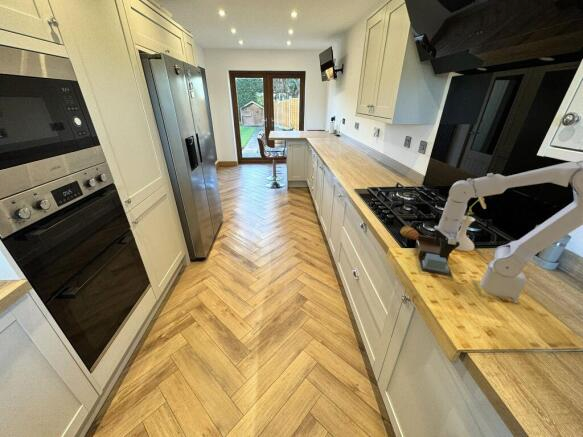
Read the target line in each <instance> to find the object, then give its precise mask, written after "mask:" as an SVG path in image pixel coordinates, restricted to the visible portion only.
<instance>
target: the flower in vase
mask: <svg viewBox="0 0 583 437" xmlns="http://www.w3.org/2000/svg"><path fill="white" fill-rule="evenodd" d="M477 202H478V203H480V205H481V208H483V210H485V209H487V204H486V202H485V198H484V197H478V199H477V200H476V201H475V202H473V204H472V205H471V206H469V209H468V212H467V215H464V216H463V219H462V222H461V225H460V228H459V232H458V235H457V242H459V243H460V245H459V246H458V247H457V248H455V249H454V250H456V251H459V252H471V251H474V250H475V243H474V242H473V241H472V240H471V239H470V238H469V237H468V236H467V231H468V229H469V227H470V226H471V224H472V223H473V222H475V221H476V218H474V217H472V216H471V215H474V214H475V213H474V212H473V211H472V208H473V207H474V205H475V204H477ZM469 215H470V216H469Z"/></svg>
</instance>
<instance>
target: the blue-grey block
mask: <svg viewBox="0 0 583 437" xmlns="http://www.w3.org/2000/svg"><path fill="white" fill-rule="evenodd" d="M424 259H425V260H423V261H422V263H423V267H424V269H430V270H435V271H440V272H445V273H449V269H450V267H449V268H448V266H449V265H448V266H447V264H448V261H447V260H446V258H441V257H439V255H435V254H429V253H425V257H424Z"/></svg>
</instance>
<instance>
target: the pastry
mask: <svg viewBox="0 0 583 437" xmlns="http://www.w3.org/2000/svg"><path fill="white" fill-rule="evenodd" d="M399 233H400V235H401V236H402V237H404V238H405V239H410V240H413V241H417V238H418V235H421V234H420V233H419V232H418V230H416V229H415V228H413V227H411V226H409V225H405V226H403V227H402V228H401V229H400V231H399Z"/></svg>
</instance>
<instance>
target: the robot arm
mask: <svg viewBox="0 0 583 437" xmlns="http://www.w3.org/2000/svg"><path fill="white" fill-rule="evenodd" d="M545 183H551V184H555V185H558V186H562V187H565V188H567V187H568V186H569V184H570V185H571V187H572V193H573V195H572V196H573V201H572V202H571V203H569V204H568V205H566V206H565V207H564V208H562V209H561V210H559V211H558V212H556V213H555V214H554V215H551V217H549V218H548V219H546V220H545V221H544V222H542V223H540V224H539V225H538V226H537V227H535V228H534V229H532V230H530V231H529V232H528V233H526V234H525V235H523V236H522V237H520V238H519V239H517V240H512V241H510V242H509V243H506V244H503V245H500V246H497V247H496V248H495V250H494V252H493V256H494V257H493V258H494V259H493V260H492V261H489V262H488V264H487V267H486V269H485V271H484V272H483V275H482V278H481V279H480V282H479V287H480V288H481V289H482V290H483V291H484V292H486V293H488V294H489V295H492V296H495V297H500V298H510V299H512V300H513V302H514V303H515V304H518V303H519V301H518V299H519V298H520V296H521V294H522V293H523V291H524V289H525V286H526V285H527V278H526V275H525V274H524V273H523V272H522V271H523V269H524V267H526V266H527V265H529V264H530V262H531V261H532V259H533V257H534V256H536V255H537V254H538V253H541V252H542V251H543V250H545V249H546V248H548V247H550V246H551V245H553V244H554V243H556V242H558V241H559V240H561V239H562V238H564V237H565V236H568V235H569V234H570V233H572V232H573V231H575V230H576V229H578V228H580V227H582V226H583V159H582V160H579V161H576V162H575V161H569V162H563V163H558V164H554V165H550V166H549V165H548V166H546V167H542V168H537V169H532V170H527V171H524V172H519V173H516V174H512V175H507V176H506V175H502V174H500V173H496V174H495V173H494V172H491V173H486V175H485V176H482V177H476V178H471V177H470V178H467V179H466V180H465V179H464V180H463V179H461V180H458V181H456V182H453V184H452V186H451V187H450V189H449V191H448V196H447V201H446V202H445V205H444V208H443V211H442V214H441V217H440V218H439V222H438V225H434V226H433V229H434V237H435V246H440V252H439V257H441V258H447V257H448V256H449V257H450V255H451V253H453V251H454V250H455V248H457V247H458V246H459V245H460V243H459V242H457V235H458V232H459V231H460V228H461V225H462V219H463V216H465V215H466V211H467V208H468V203H469V201H470V199H473V198H474V199H475V198H476V199H477V198H479V197H482V198H484V197H487V196H488V197H489V196H495V195H501V194H503V193H504V192H505V191H506V190H507V189H510V188H516V187H517V188H518V187H524V186H532V185H538V184H539V185H540V184H545Z"/></svg>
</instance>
